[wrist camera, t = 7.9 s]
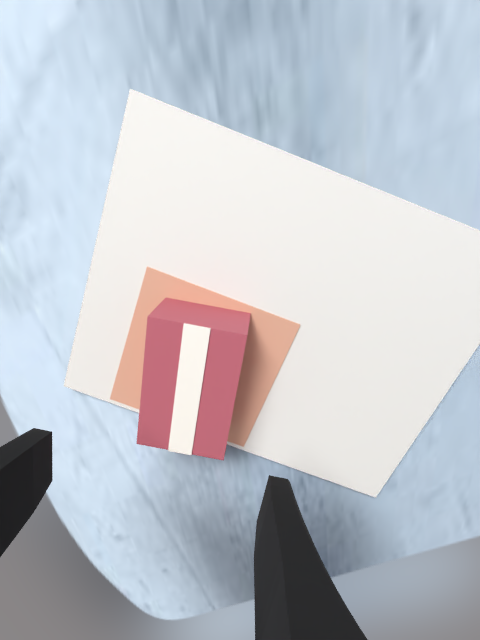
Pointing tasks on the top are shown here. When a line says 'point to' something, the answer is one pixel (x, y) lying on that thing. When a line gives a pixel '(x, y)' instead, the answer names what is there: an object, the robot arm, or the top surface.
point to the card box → (191, 377)
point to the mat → (281, 292)
